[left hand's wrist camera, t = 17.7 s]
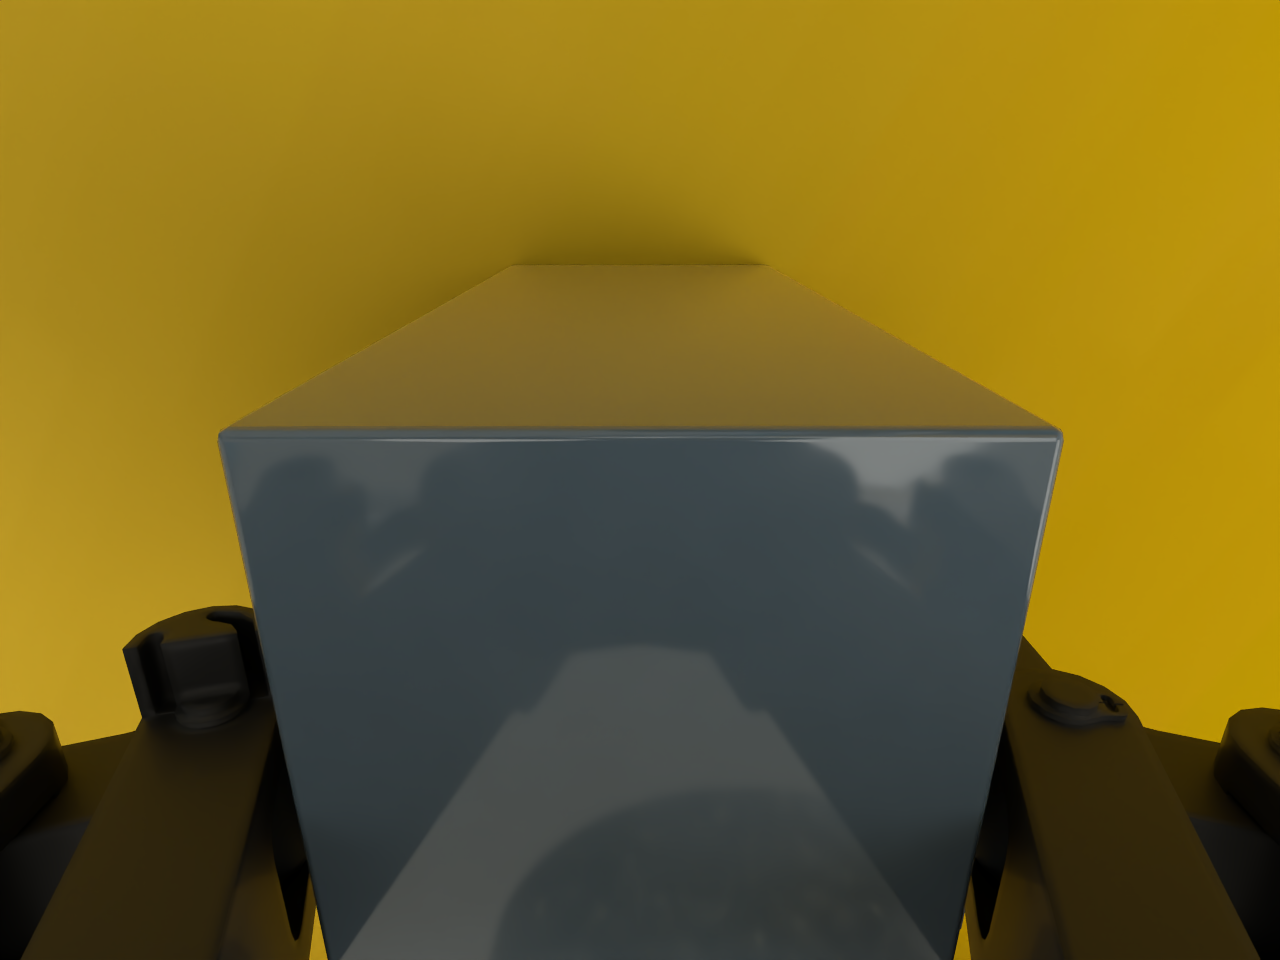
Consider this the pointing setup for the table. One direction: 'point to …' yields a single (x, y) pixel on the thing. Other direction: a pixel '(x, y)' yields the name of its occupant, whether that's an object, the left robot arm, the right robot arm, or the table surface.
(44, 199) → the table surface
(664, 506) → the brick
